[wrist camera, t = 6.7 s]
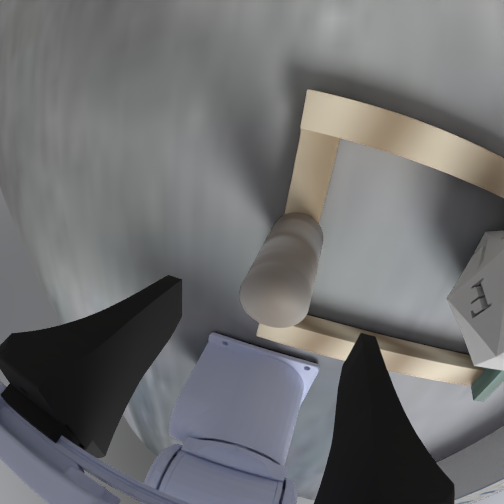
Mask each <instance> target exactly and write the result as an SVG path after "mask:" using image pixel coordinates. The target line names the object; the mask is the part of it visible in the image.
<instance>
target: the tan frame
mask: <svg viewBox="0 0 504 504" xmlns="http://www.w3.org/2000/svg"><path fill="white" fill-rule="evenodd" d="M300 128H301V134H300V140H299V145H298V150H297V155H296V160H295V165H294V170H293V175H292V180H291V185H290V190H289V194H288V199H287V204H286V209H285V214H284V215H283V216H281V217H280V218H279V219H278V220H277V221H276V222H275V224H274V226H273V228H272V229H271V231H270V233H269V235H268V237H267V239H266V241H265V242H264V244H263V246H262V248H261V250H260V252H259V254H258V255H257V257H256V259H255V261H254V263H253V265H252V267H251V268H250V270H249V272H248V274H247V276H246V278H245V280H244V281H243V283H242V285H241V288H240V292H239V297H240V302H241V305H242V307H243V308H244V310H245V311H246V313H247V314H248V315H249V316H250V317H252V318H253V319H254V320H256V321H257V322H259V326H258V331H257V335H256V336H258V337H261V338H265V339H268V340H271V341H275V342H278V343H281V344H285V345H288V346H292V347H295V348H299V349H302V350H306V351H310V352H313V353H317V354H321V355H325V356H328V357H332V358H336V359H340V360H344V361H346V359H347V357H348V355H349V353H350V352H351V350H352V348H353V346H354V344H355V342H356V341H357V339H358V337H359V335H360V333H364V334H368V335H372V336H375V337H376V339H377V342H378V345H379V348H380V351H381V353H382V356H383V359H384V362H385V365H386V368H387V371H391V372H396V373H401V374H406V375H410V376H415V377H421V378H426V379H431V380H437V381H442V382H448V383H454V384H460V385H466V386H471V389H472V394H473V400H474V401H483V402H484V401H485V400H486V399H487V398H488V397H489V396H490V395H491V394H492V393H493V392H494V391H495V390H496V388H497V387H498V386H499V385H500V384H501V383H502V382H503V381H504V371H503V370H496V369H490V368H484V367H478V366H474V365H473V362H472V359H471V356H470V355H467V354H462V353H457V352H453V351H448V350H444V349H439V348H435V347H431V346H426V345H422V344H418V343H414V342H409V341H405V340H401V339H397V338H393V337H389V336H385V335H381V334H377V333H373V332H369V331H365V330H361V329H358V328H354V327H350V326H346V325H343V324H339V323H335V322H332V321H328V320H324V319H321V318H317V317H313V316H310V315H307V313H308V310H309V306H310V301H311V297H312V292H313V288H314V283H315V278H316V274H317V269H318V264H319V259H320V254H321V249H322V244H323V232H322V229H321V227H320V225H319V221H320V218H321V214H322V210H323V206H324V203H325V199H326V195H327V191H328V187H329V183H330V179H331V175H332V171H333V167H334V163H335V158H336V154H337V150H338V146H339V141H340V138H341V139H345V140H349V141H352V142H356V143H359V144H363V145H366V146H370V147H373V148H376V149H379V150H383V151H386V152H389V153H392V154H395V155H398V156H401V157H404V158H407V159H410V160H413V161H415V162H418V163H421V164H424V165H426V166H429V167H432V168H434V169H437V170H440V171H442V172H445V173H447V174H450V175H452V176H455V177H457V178H460V179H462V180H464V181H467V182H469V183H471V184H474V185H476V186H478V187H480V188H483V189H485V190H487V191H489V192H491V193H494V194H496V195H498V196H500V197H502V198H504V158H503V157H501V156H499V155H497V154H495V153H493V152H491V151H489V150H487V149H485V148H483V147H481V146H479V145H477V144H475V143H473V142H470V141H468V140H466V139H464V138H462V137H459V136H457V135H455V134H452V133H450V132H447V131H445V130H443V129H440V128H438V127H435V126H433V125H430V124H427V123H425V122H422V121H419V120H417V119H414V118H411V117H408V116H405V115H402V114H399V113H396V112H393V111H390V110H387V109H384V108H381V107H378V106H374V105H371V104H367V103H364V102H360V101H357V100H353V99H349V98H346V97H342V96H338V95H334V94H329V93H325V92H321V91H316V90H312V89H307V94H306V99H305V105H304V110H303V115H302V121H301V126H300Z"/></svg>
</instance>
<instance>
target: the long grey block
mask: <svg viewBox="0 0 504 504" xmlns="http://www.w3.org/2000/svg"><path fill="white" fill-rule="evenodd" d="M436 463H437V464H438V466H439V467H440V468H441V469H442V471H443V472H444V473H445V474H446V475H447V476H448V477H449V479H450V480H451V481H452V482H453V483H454V487H455V500H454V504H472V503H475V502H477V501H480V500H482V499H484V498H487V497H489V496H491V495H494V494H496V493H498V492H500V491H502V490H504V426H502V427H501V428H499V429H497V430H496V431H494V432H493V433H491V434H489V435H488V436H486V437H484V438H483V439H481V440H479V441H477V442H475V443H474V444H472V445H470V446H468V447H466V448H464V449H463V450H461V451H459V452H457V453H455V454H453V455H451V456H449V457H447V458H445V459H443V460H440V461H438V462H436Z"/></svg>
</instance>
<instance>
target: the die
mask: <svg viewBox="0 0 504 504" xmlns="http://www.w3.org/2000/svg"><path fill="white" fill-rule="evenodd" d="M447 300H448V303H449V305H450V307H451V309H452V312H453V314H454V316H455V319H456V321H457V323H458V326H459V328H460V331H461V333H462V335H463V338H464V341H465V343H466V346H467V348H468V351H469V354H470V356H471V359H472V362H473V365H474V366H478V367H484V368H490V369H496V370H503V371H504V230H502V231H488V232H485V233H484V235H483V237H482V239H481V241H480V243H479V245H478V246H477V248H476V250H475V252H474V255H473V256H472V257H471V259H470V261H469V263H468V264H467V266H466V268H465V269H464V271H463V273H462V274H461V276H460V278H459V279H458V281H457V283H456V284H455V286H454V287H453V289H452V291H451V292H450V294H449V295H448V297H447Z"/></svg>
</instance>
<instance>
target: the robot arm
mask: <svg viewBox="0 0 504 504" xmlns="http://www.w3.org/2000/svg"><path fill="white" fill-rule="evenodd" d="M181 317H182V279H179V278H176V277H173V276H170V275H168V276H166V277H164V278H162V279H161V280H159V281H157V282H155V283H153V284H152V285H150V286H148V287H147V288H145V289H143V290H141V291H140V292H138V293H136V294H134V295H132V296H130V297H129V298H127V299H125V300H123V301H121V302H119V303H117V304H115V305H113V306H111V307H109V308H107V309H105V310H102V311H100V312H98V313H95V314H93V315H90V316H88V317H85V318H82V319H79V320H76V321H73V322H70V323H66V324H63V325H60V326H56V327H51V328H47V329H42V330H36V331H29V332H22V333H12V334H11V335H10V336H9V337H8V338H7V339H6V340H5V341H4V342H3V343H2V344H1V345H0V369H1V371H2V372H3V374H4V375H5V377H6V378H7V380H8V381H9V382H10V384H9V385H8V386H7V387H6V386H5V385H4V384H3V383H2V382H1V381H0V459H1V460H2V461H3V462H4V463H5V464H6V465H7V466H8V467H9V468H10V469H11V470H12V471H13V472H14V473H15V474H16V475H17V476H18V477H19V478H20V479H21V480H22V481H23V482H24V483H26V484H27V485H28V486H29V487H30V488H31V489H32V490H33V491H34V492H36V493H37V494H38V495H39V496H40V497H41V498H42V499H44V500H45V501H46V502H47V503H49V504H119V503H120V499H119V498H118V497H116V496H114V495H113V494H112V493H110V492H109V491H108V490H107V489H106V488H105V487H104V486H102V485H101V484H99V483H97V482H96V481H94V480H93V479H91V478H90V477H88V476H87V475H85V474H84V470H85V471H87V472H88V473H90V474H91V475H93V476H95V477H96V478H98V479H99V480H101V481H103V482H105V483H106V484H108V485H110V486H112V487H114V488H115V489H117V490H119V491H121V492H122V493H125V494H126V495H128V496H130V497H132V498H134V499H136V500H138V501H140V502H142V503H141V504H296V502H297V495H298V490H297V487H296V486H295V484H294V481H293V480H292V479H289V478H285V475H286V472H287V468H288V467H287V466H284V464H285V461H286V457H287V454H288V450H289V446H290V443H291V439H292V435H293V431H294V428H295V424H296V420H297V416H298V412H299V408H300V405H301V403H302V401H303V400H304V398H305V396H306V394H307V392H308V390H309V389H310V387H311V385H312V383H313V381H314V379H315V377H316V375H317V373H318V371H319V365H318V364H316V363H313V362H309V361H306V360H302V359H298V358H295V357H291V356H288V355H284V354H281V353H277V352H274V351H271V350H267V349H264V348H261V347H258V346H254V345H251V344H248V343H245V342H242V341H239V340H236V339H232V338H229V337H226V336H223V335H220V334H218V333H211V334H210V335H209V339H208V344H207V345H206V347H205V349H204V351H203V353H202V354H201V356H200V358H199V360H198V362H197V363H196V365H195V367H194V369H193V371H192V373H191V374H190V376H189V378H188V380H187V382H186V383H185V385H184V387H183V389H182V391H181V393H180V395H179V397H178V399H177V401H176V404H175V406H174V409H173V412H172V415H171V418H170V423H169V435H170V436H171V437H172V438H174V439H175V440H178V441H180V442H182V443H183V446H182V445H179V444H174V445H172V446H170V447H168V448H165V449H164V450H163V451H162V452H161V453H160V454H159V455H158V456H157V458H156V459H155V461H154V462H153V464H152V466H151V468H150V470H149V472H148V474H147V476H146V479H145V481H144V483H142V482H140V481H138V480H136V479H134V478H132V477H129V476H128V475H126V474H124V473H122V472H120V471H118V470H117V469H115V468H113V467H111V466H109V465H108V464H106V463H104V462H103V461H101V460H99V459H98V458H101V457H104V456H105V455H106V452H107V450H108V447H109V445H110V442H111V439H112V437H113V434H114V432H115V430H116V427H117V426H118V423H119V421H120V419H121V417H122V415H123V413H124V411H125V408H126V406H127V404H128V402H129V400H130V398H131V397H132V395H133V393H134V391H135V389H136V387H137V386H138V384H139V382H140V380H141V379H142V377H143V376H144V374H145V373H146V371H147V370H148V368H149V367H150V366H151V364H152V363H153V361H154V360H155V359H156V357H157V356H158V354H159V353H160V352H161V350H162V349H163V347H164V346H165V345H166V343H167V342H168V340H169V339H170V337H171V336H172V334H173V332H174V330H175V329H176V327H177V325H178V323H179V321H180V319H181ZM307 366H308V367H307ZM81 448H82V449H81ZM454 500H455V487H454V483H453V482H452V481H451V480H450V479H449V477H448V476H447V475H446V474H445V473H444V472H443V471H442V469H441V468H440V467H439V466H438V464H437V463H436V462H435V460H434V459H433V458H432V457H431V455H430V454H429V452H428V451H427V449H426V448H425V446H424V445H423V443H422V442H421V440H420V439H419V437H418V435H417V434H416V432H415V430H414V429H413V427H412V425H411V423H410V421H409V419H408V418H407V416H406V414H405V412H404V410H403V407H402V405H401V403H400V401H399V398H398V396H397V394H396V391H395V389H394V386H393V384H392V381H391V378H390V376H389V373H388V371H387V368H386V365H385V362H384V359H383V356H382V353H381V351H380V348H379V345H378V342H377V339H376V337H375V336H372V335H368V334H364V333H360V335H359V337H358V339H357V341H356V342H355V344H354V346H353V348H352V350H351V352H350V353H349V355H348V357H347V359H346V361H345V362H344V364H343V366H342V371H341V376H340V381H339V386H338V394H337V404H336V414H335V423H334V432H333V439H332V445H331V449H330V453H329V457H328V461H327V465H326V468H325V472H324V475H323V478H322V481H321V485H320V488H319V491H318V494H317V496H316V499H315V502H314V504H454Z"/></svg>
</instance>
